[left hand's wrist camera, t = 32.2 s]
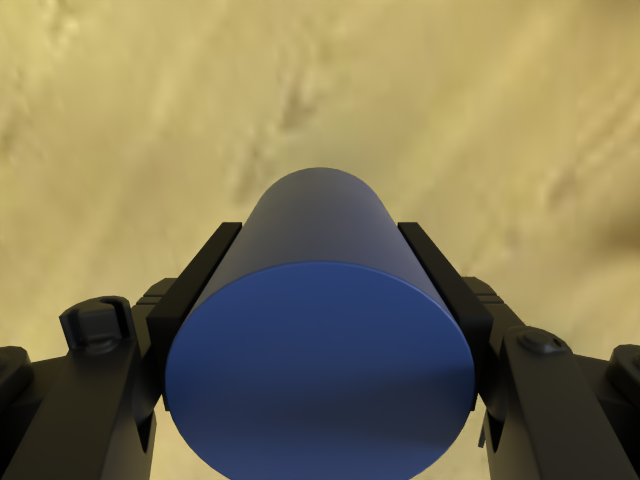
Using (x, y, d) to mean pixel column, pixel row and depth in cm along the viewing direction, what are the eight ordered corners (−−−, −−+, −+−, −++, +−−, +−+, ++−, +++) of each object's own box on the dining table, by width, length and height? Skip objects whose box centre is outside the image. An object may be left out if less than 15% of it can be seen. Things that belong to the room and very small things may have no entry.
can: (248, 292, 16) (172, 493, 8) (251, 160, 14) (150, 245, 6) (377, 302, 17) (437, 510, 8) (401, 174, 14) (517, 277, 6)
